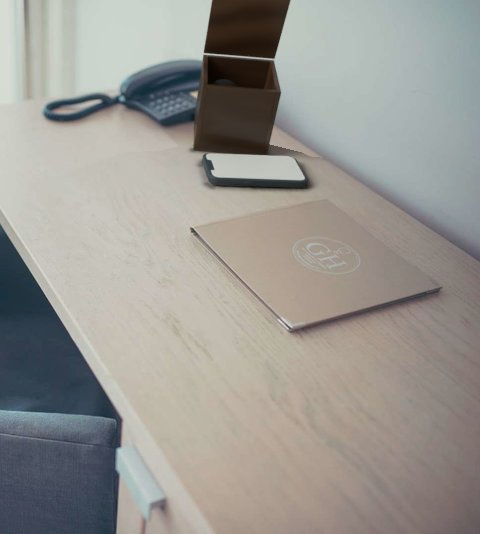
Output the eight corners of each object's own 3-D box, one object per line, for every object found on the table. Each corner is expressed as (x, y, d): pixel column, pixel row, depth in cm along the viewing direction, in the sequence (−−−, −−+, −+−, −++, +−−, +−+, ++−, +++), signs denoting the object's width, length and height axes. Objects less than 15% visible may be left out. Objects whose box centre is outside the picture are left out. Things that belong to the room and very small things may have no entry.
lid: (296, -23, 102) (294, -54, 107) (216, -28, 103) (218, -58, 109) (274, 59, 115) (273, 27, 120) (203, 53, 116) (205, 22, 121)
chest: (266, 157, 111) (281, 92, 104) (193, 150, 112) (202, 85, 105) (260, 120, 123) (274, 60, 115) (194, 114, 124) (203, 54, 117)
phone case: (292, 163, 110) (200, 160, 110) (294, 155, 109) (201, 151, 109) (307, 190, 103) (209, 187, 103) (310, 182, 102) (210, 178, 102)
